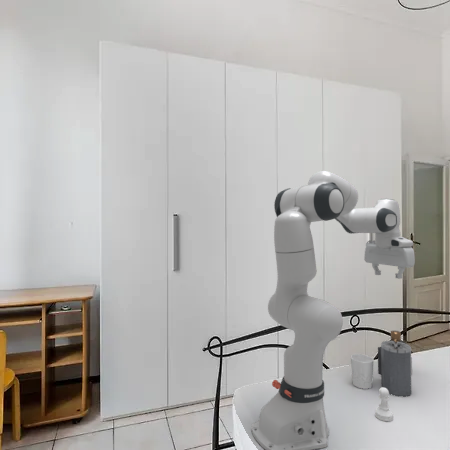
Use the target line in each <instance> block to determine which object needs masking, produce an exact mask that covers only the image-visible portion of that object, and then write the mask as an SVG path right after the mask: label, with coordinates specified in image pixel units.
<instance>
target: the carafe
mask: <svg viewBox="0 0 450 450" xmlns="http://www.w3.org/2000/svg"><path fill="white" fill-rule="evenodd" d="M403 342H404V341H403ZM403 342H397V347H395V346H394V341H392V340H385V341H384V340H383V341H381V343H380V346H378V347H377V374H378V375H379V376H380V377H381V387H380V388H382V387H384V388H386V389H387V390H388V391H389V395H391V394H392V395H391V396H394V395H395V396H394V397H399V396H403V397H402V398H405V397H406V396H407V397H410V396H411V395H412V375H411V357H412V347H411V345H409V344H407V343H406V342H405V343H406V344H405V343H403ZM407 397H406V398H407Z"/></svg>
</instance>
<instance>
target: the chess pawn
mask: <svg viewBox="0 0 450 450" xmlns="http://www.w3.org/2000/svg"><path fill="white" fill-rule="evenodd" d="M378 393H379V396H378V398H379V400H380V403H379V404H378V407H376V408H375V411H374V413H375V414H374V415H375V417H376V418H377V419H378V420H380V421H382V422H392V421H393V420H394V412H393V411H392V410H391V409H390V406H389V405H388V401H389V400H390V398H389V395H390V394H389V391H388V390H387V389H386V388H384V387H380V388H379V390H378Z"/></svg>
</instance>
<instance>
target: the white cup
mask: <svg viewBox="0 0 450 450" xmlns="http://www.w3.org/2000/svg"><path fill="white" fill-rule="evenodd" d="M374 359H375V358H373V357H372V356H370V355H368V354H364V353H363V354H362V353H353V354H351V355H350V369H351V370H350V371H351V381H352V384H353V386H354V387H356V388H359V389H362V388H363V390H368V388H369V389H372V387H373V378H374Z"/></svg>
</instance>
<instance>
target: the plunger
mask: <svg viewBox="0 0 450 450" xmlns="http://www.w3.org/2000/svg"><path fill="white" fill-rule="evenodd" d="M401 337H402V334H401V331H399V330H390V341H394V346H395V347H397V342H400V341H402V338H401Z"/></svg>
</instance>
